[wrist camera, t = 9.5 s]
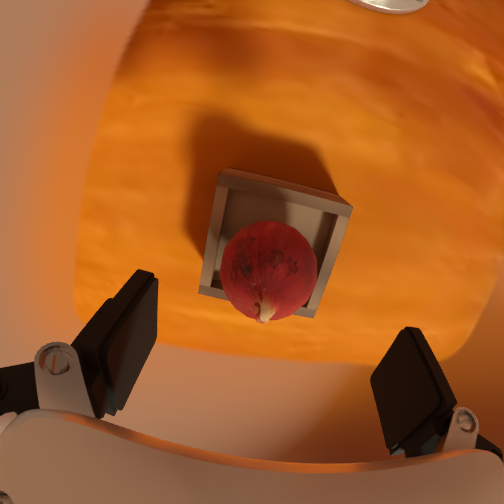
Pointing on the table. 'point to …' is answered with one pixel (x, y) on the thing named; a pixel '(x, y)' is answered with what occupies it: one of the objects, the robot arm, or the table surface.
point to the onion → (268, 270)
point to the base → (274, 209)
